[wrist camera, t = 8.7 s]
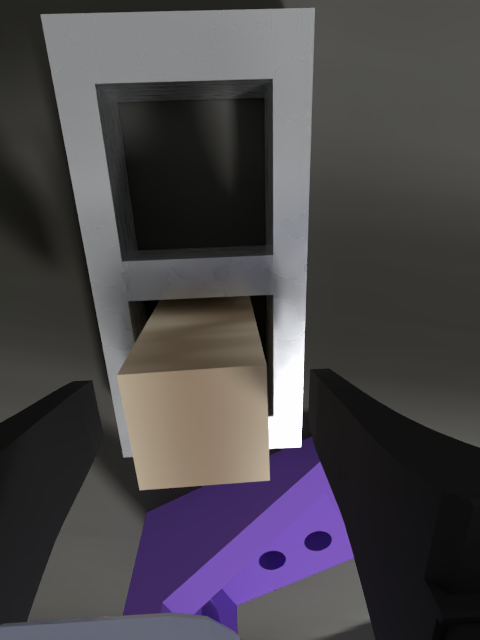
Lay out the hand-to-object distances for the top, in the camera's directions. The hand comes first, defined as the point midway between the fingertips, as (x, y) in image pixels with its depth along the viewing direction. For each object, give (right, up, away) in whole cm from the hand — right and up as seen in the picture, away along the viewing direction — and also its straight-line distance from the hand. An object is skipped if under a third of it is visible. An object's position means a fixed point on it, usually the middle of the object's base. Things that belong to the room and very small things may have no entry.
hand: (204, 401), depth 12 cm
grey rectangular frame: (0, +5, +4) cm, 6 cm away
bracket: (+3, -8, +9) cm, 13 cm away
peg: (0, +2, +5) cm, 5 cm away
